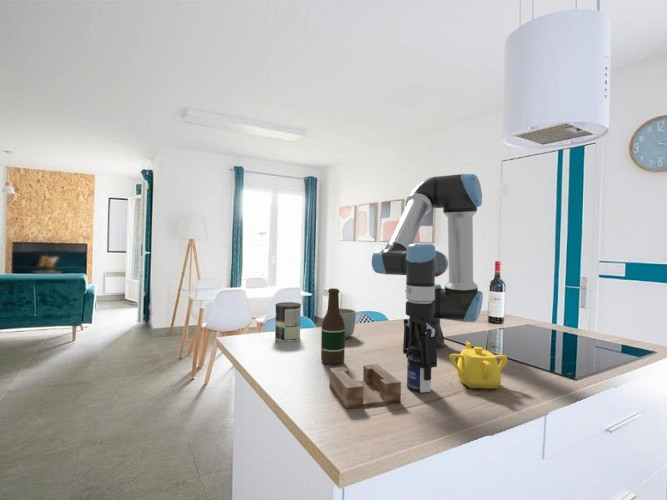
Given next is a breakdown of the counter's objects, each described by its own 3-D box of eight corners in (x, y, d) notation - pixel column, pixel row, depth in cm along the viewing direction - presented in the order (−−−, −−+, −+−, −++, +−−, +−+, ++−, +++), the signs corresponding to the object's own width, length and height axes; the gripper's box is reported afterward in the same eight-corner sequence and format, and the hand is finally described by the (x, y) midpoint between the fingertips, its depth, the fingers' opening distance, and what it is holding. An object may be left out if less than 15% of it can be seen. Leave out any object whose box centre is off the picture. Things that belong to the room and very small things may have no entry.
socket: (377, 381, 103) (377, 364, 103) (400, 402, 89) (400, 382, 89) (329, 386, 98) (329, 368, 98) (346, 409, 85) (346, 387, 85)
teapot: (441, 381, 104) (442, 345, 104) (465, 371, 112) (466, 338, 112) (488, 397, 93) (489, 357, 93) (511, 385, 102) (512, 348, 101)
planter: (324, 333, 159) (325, 308, 158) (352, 333, 160) (353, 308, 160) (327, 340, 146) (327, 313, 146) (357, 340, 148) (358, 313, 148)
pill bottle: (402, 385, 100) (403, 345, 100) (420, 382, 103) (421, 343, 102) (415, 394, 95) (416, 351, 94) (435, 390, 97) (435, 349, 97)
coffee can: (271, 341, 144) (272, 305, 144) (279, 335, 154) (279, 301, 154) (297, 342, 143) (297, 306, 143) (302, 336, 153) (303, 302, 153)
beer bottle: (342, 366, 115) (343, 290, 115) (318, 364, 117) (319, 289, 116) (346, 359, 123) (347, 287, 122) (323, 357, 124) (324, 287, 124)
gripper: (391, 296, 106) (390, 375, 107) (426, 307, 88) (425, 402, 88) (414, 296, 109) (413, 373, 109) (453, 306, 90) (451, 399, 91)
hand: (418, 386), depth 99 cm, fingers closed on pill bottle, 6 cm apart
